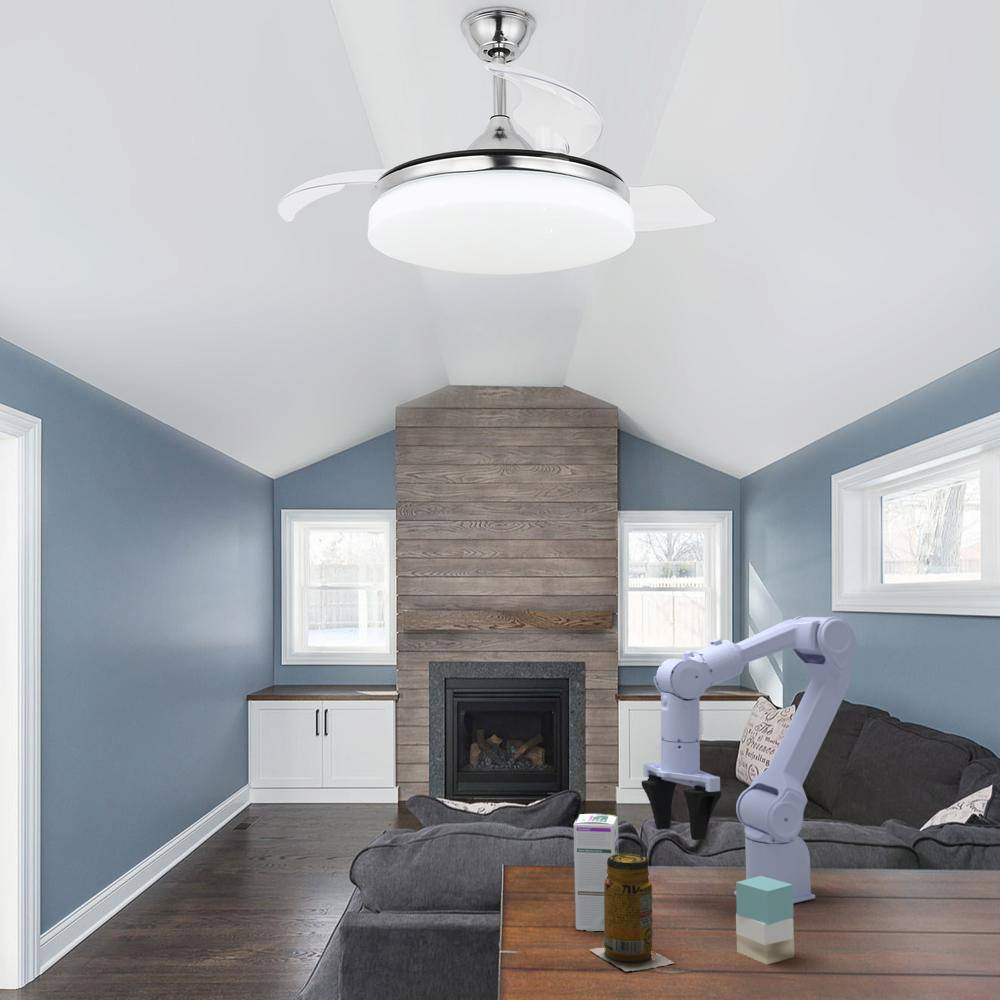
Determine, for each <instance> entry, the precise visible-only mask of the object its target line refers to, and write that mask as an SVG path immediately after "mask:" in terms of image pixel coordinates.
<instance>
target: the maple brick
mask: <svg viewBox="0 0 1000 1000" xmlns="http://www.w3.org/2000/svg"><path fill="white" fill-rule="evenodd" d="M738 952H739V953H738ZM736 953H738V954H740V953H741V954H740V955H742V954H744V955H743V956H745V955H747V956H748V958H750V957H751V958H750V959H752V958H753V959H752V960H755V961H757V962H759V963H762V964H765V965H770V964H774V963H777V962H781V961H784V960H788V959H791V958H794V957H795V938H794V939H790V940H786V941H781V942H777V943H773V944H768V945H763V944H760V943H758V942H756V941H753V940H751V939H748V938H746V937H744V936H741V935H739V934H736ZM747 956H746V957H747Z"/></svg>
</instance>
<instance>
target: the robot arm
mask: <svg viewBox="0 0 1000 1000" xmlns="http://www.w3.org/2000/svg"><path fill="white" fill-rule="evenodd" d="M709 644H710V645H708V646H706V647H703V648H701V649H698V650H696V651H693V650H687V651H685V652H684V653H683V657H682V659H680V658H668V659H666V660H664V661H663V662H662V663H661V666H658V669H657V671H656V675H655V676H653V683H654V686H655V688H656V689H657V690H658V692H659V694H660V763H656V762H647V763H643V777H646V778H647V779H646V780H642V781H641V787H642V789H643V791H644V793H645V794H646V796H647V797H646V798H647V799H648V801H649V804H650V807H651V811H652V814H653V819H654V823H655V827H656V829H657V830H665V829H666V830H667V829H670V828H671V821H672V808H673V807H672V805H673V798H674V794H675V790H676V787H677V784H681V785H685V786H689V787H693V788H694V789H693V788H691V789H684V790H683V792H682V793H683V796H684V798H685V801H686V804H687V809H688V816H689V830H690V831H689V833H690V837H691V840H693V841H700V840H705V839H706V836H707V831H708V829H709V824H710V819H711V818H712V814H713V812H714V809H715V807H716V805H717V803H718V801H719V800H720V798H721V797H722V791H721V777H720V776H717V775H713V774H712V773H711V774H710V773H707V772H706V771H704V770H703V771H702V770H701V767H700V766H701V764H700V763H701V761H700V760H701V758H700V757H701V753H700V752H701V751H700V749H701V747H700V746H701V745H700V742H701V739H700V737H701V736H700V734H701V733H700V725H701V723H700V721H701V720H700V719H701V718H700V717H701V716H700V714H701V713H700V710H701V709H700V698H701V697H702V695H704V693H705V691H706V690H707V689H709V688H711V687H713V686H716V685H719V684H721V683H722V682H726V681H728V680H731V679H733V678H735V677H738V676H739V675H741V674H742V673H743V672H744V668H745V665H746V664H747V663H750V662H753V661H756V660H759V659H762V658H764V657H767V656H770V655H774V654H775V653H778V652H781V651H784V650H787V649H791V650H792V652H793V653H794V654H795V656H796V657H797V659H798V660H799V661H800V662H801V664H802V665H803V666H804V667H803V668H805V669H806V672H807V674H808V677H809V680H810V681H809V683H808V686H807V687H806V689H805V691H804V694H803V696H802V698H801V700H800V702H799V704H798V706H797V708H796V710H795V713H794V715H793V717H792V719H791V721H790V723H789V725H788V727H787V728H786V731H785V734H784V736H783V738H782V740H781V742H780V743H779V745H778V748H777V750H776V752H775V753H774V755H773V758H772V760H771V762H770V765H769V766H768V768H767V769H765V770H764V771H762V772H761V773H759V774H758V775H756V776H755V777H754V778H753V779H752V782H751V783H750V785H749V786H748V787H747V788H746V789H745V790H743V791H742V792H741V793H740V795H739V796H738V799H737V801H736V806H735V807H736V808H735V811H736V816H737V818H738V820H739V822H740V823H741V824H742V825H743V830H744V835H745V838H744V840H745V841H744V844H745V845H744V846H745V880H746V879H750V878H754V877H758V876H763V877H767V878H771V879H774V880H778V881H782V882H785V883H789V884H793V904H796V903H801V902H804V901H809V900H813V899H816V895H815V894H814V893H812V889H811V856H810V851H809V848H808V845H807V844H806V842H805V840H804V839H803V838H801V837H800V836H798V835H799V833H800V832H801V830H802V827H803V824H804V812H805V808H806V805H807V803H808V798H807V795H806V792H805V789H804V787H803V784H805V783H804V782H805V780H806V778H807V776H808V774H809V772H810V769H811V768H812V765H813V763H814V762H815V759H816V757H817V755H818V753H819V751H820V749H821V747H822V744H823V742H824V739H825V738H826V735H827V734H828V732H829V730H830V727H831V725H832V723H833V721H834V720H835V717H836V714H837V712H838V710H839V708H840V706H841V704H842V702H843V700H844V697H845V696H846V693H847V691H848V688H849V686H850V683H851V672H852V671H851V670H852V658H853V655H854V654H855V651H856V648H857V647H858V645H859V644H858V641H857V639H856V636H855V634H854V631H853V629H852V625H850V623H849V622H848V621H847V620H846V619H845V618H843V617H840V616H809V615H808V616H807V615H799V616H797V617H795V618H790V619H786V620H783V621H781V622H780V623H777V624H775V625H774V626H771V627H769V628H767V629H764V630H762V631H760V632H757V633H756V634H754V635H752V636H750V637H748V638H745V639H744V640H740V641H739V642H737V643H735V642H732V641H731V640H728V639H723V640H722V639H721V638H714V639H712V640H710V641H709ZM733 895H734V896H736V890H734V892H733Z"/></svg>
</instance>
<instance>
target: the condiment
mask: <svg viewBox="0 0 1000 1000" xmlns="http://www.w3.org/2000/svg"><path fill="white" fill-rule="evenodd" d="M649 863H650V862H649V860H648V858H646V857H645V856H643V855H639V854H636V853H634V854H632V853H619V854H615V855H612V856H610V857H609V858H608V859H607V874H608V876H607V878H606V879H605V882H604V932H603V933H604V934H603V935H604V938H603V939H604V944H603V945H604V947H595V948H590V949H589V951H590V952H592V953H593V954H595V955H596V956H598V957H599V958H601V959H603V960H604V961H606V962H610V964H612V965H614V966H615V967H616V968H619V969H621V970H623V971H624V972H630V971H631V972H634V971H641V970H648V969H652V968H653V969H656V968H658V967H662V966H664V967H665V966H668V965H671V964H672V965H673V964H675V962H674V961H672V960H671V959H668V958H667V957H665V956H663V955H662V954H659V953H657V952H655V953H656V956H659V957H656V956H655V960H651V959H652V958H651V956H652V955H651V952H652V951H653V949H652V948H653V922H654V921H653V893H652V892H653V886H652V881H651V880H650V878H649V875H650V872H649ZM604 949H605V950H604ZM650 961H651V962H650Z"/></svg>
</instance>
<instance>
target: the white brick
mask: <svg viewBox="0 0 1000 1000" xmlns="http://www.w3.org/2000/svg"><path fill="white" fill-rule="evenodd" d="M735 931H736V933H735V934H736V935H737V934H739V935H741V936H744V937H746V938H748V939H751V940H753V941H756V942H758V943H760V944H763V945H768V944H773V943H777V942H781V941H786V940H790V939H794V940H795V937H794V935H795V934H794V917H792V918H789V919H786V920H782V921H779V922H776V923H773V924H769V925H768V924H765V923H762V922H759V921H756V920H752V919H749V918H746V917H743V916H740V915H737V912H736V913H735Z"/></svg>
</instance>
